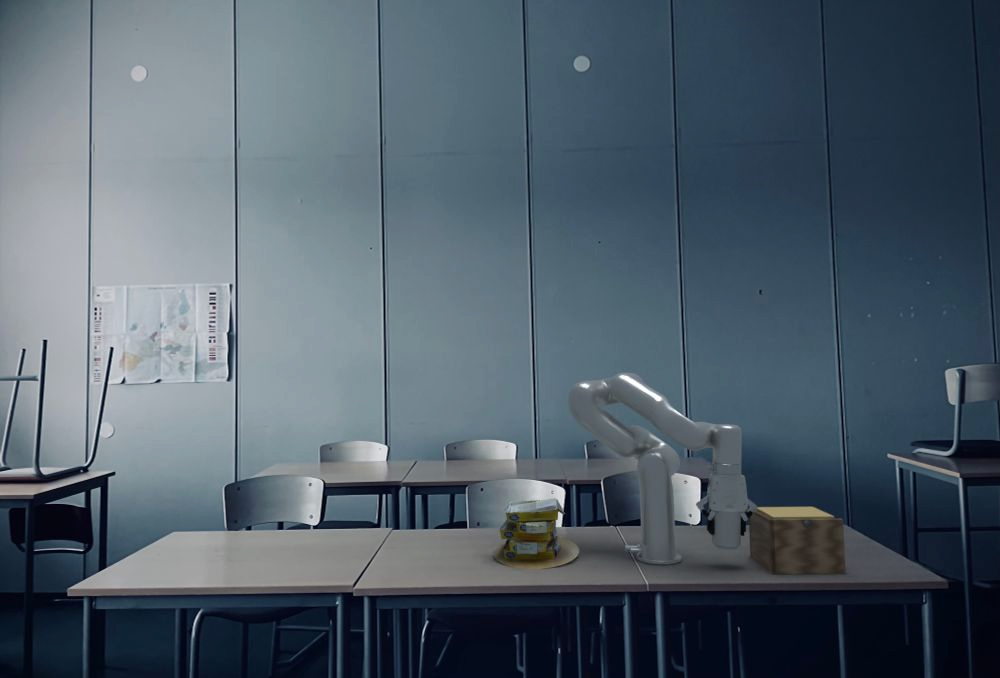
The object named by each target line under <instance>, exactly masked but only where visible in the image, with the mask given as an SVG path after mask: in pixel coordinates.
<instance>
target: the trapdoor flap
mask: <svg viewBox="0 0 1000 678" xmlns="http://www.w3.org/2000/svg"><path fill="white" fill-rule="evenodd" d="M814 507H815V506H759V507H758V506H757V509H756V511H758V512H760V513H762V514H764V515H765V516H767V517H769V518H771V519H836V518H835V516H834V515H832V514H830V513H828V512H826V511H823V510H821V509H819V508H817V507H815V508H814ZM816 508H817V509H816Z"/></svg>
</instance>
